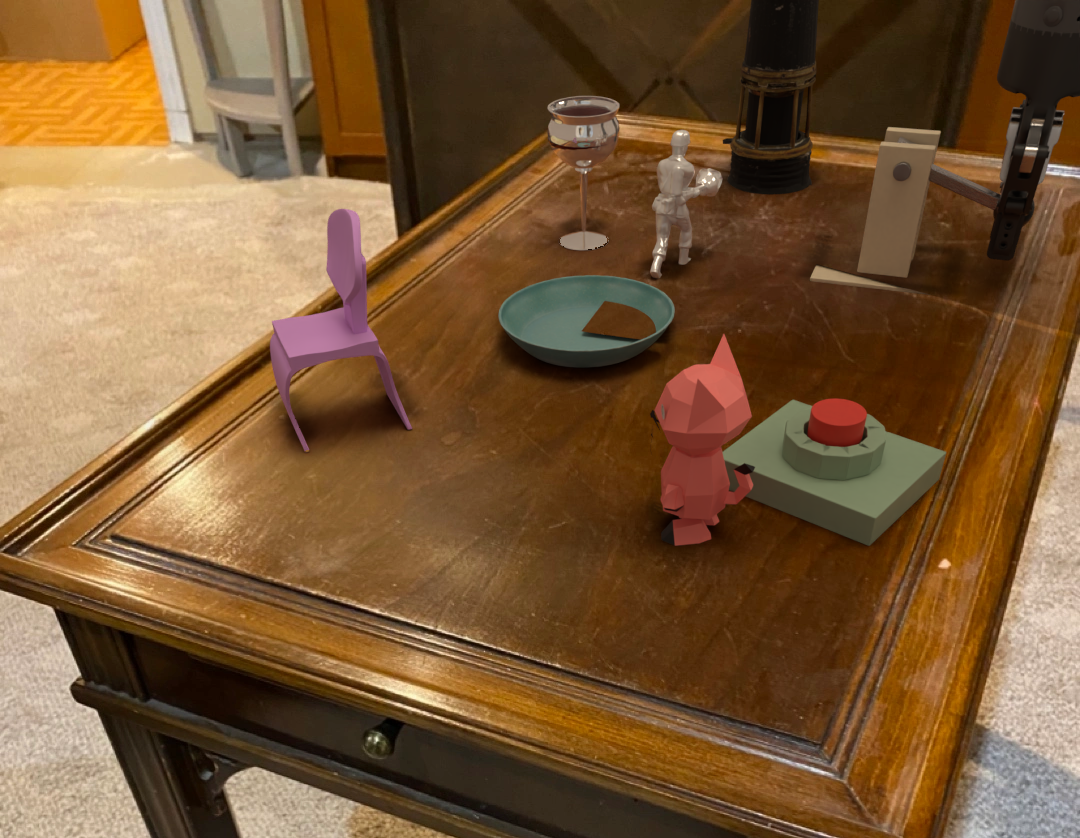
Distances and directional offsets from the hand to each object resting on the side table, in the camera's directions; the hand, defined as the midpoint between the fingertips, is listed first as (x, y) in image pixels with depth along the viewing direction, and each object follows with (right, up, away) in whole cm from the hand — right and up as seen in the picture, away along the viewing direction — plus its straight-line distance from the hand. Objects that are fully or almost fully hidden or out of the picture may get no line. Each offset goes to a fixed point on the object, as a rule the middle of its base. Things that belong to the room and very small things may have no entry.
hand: (1000, 248), depth 91 cm
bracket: (-9, 0, +5) cm, 10 cm away
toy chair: (-55, -18, -10) cm, 59 cm away
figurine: (-27, +1, +8) cm, 28 cm away
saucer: (-36, -9, -2) cm, 37 cm away
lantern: (-15, +16, +23) cm, 32 cm away
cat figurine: (-30, -28, -22) cm, 46 cm away
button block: (-20, -24, -18) cm, 37 cm away
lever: (-5, +3, -1) cm, 6 cm away
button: (-20, -22, -21) cm, 36 cm away
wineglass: (-36, +7, +14) cm, 39 cm away
